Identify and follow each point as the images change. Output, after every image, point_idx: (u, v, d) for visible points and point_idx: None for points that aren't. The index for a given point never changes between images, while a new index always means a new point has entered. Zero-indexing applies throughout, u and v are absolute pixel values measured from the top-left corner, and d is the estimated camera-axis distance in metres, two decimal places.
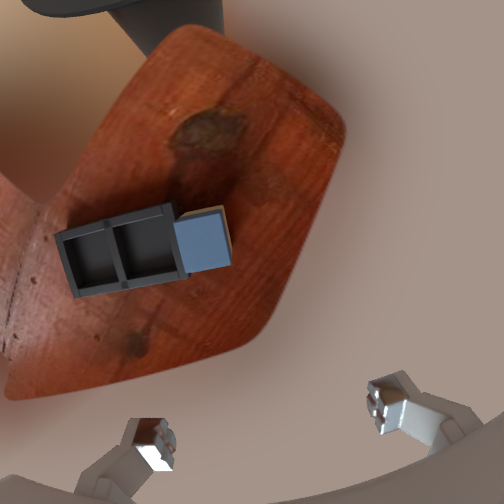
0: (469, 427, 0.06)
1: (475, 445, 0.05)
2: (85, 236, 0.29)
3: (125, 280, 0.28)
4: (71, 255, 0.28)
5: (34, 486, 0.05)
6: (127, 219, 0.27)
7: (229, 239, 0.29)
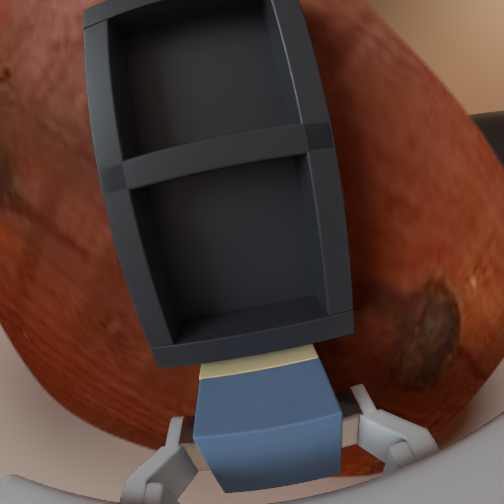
0: (423, 451, 0.06)
1: (475, 445, 0.05)
2: (260, 46, 0.09)
3: (127, 184, 0.08)
4: (212, 2, 0.08)
5: (34, 485, 0.05)
6: (328, 211, 0.09)
7: None
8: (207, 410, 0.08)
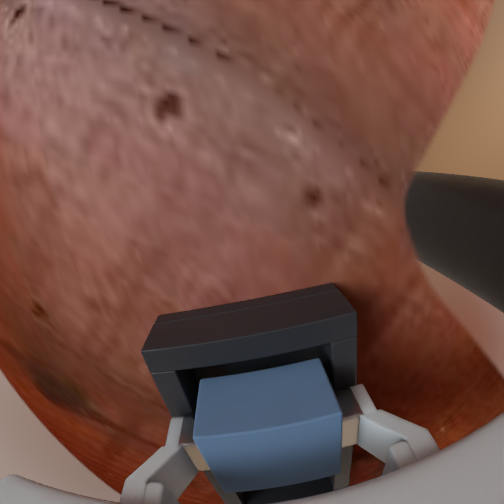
0: (423, 451, 0.06)
1: (475, 445, 0.05)
2: (312, 356, 0.12)
3: None
4: None
5: (34, 486, 0.05)
6: (341, 463, 0.12)
7: None
8: (207, 410, 0.08)
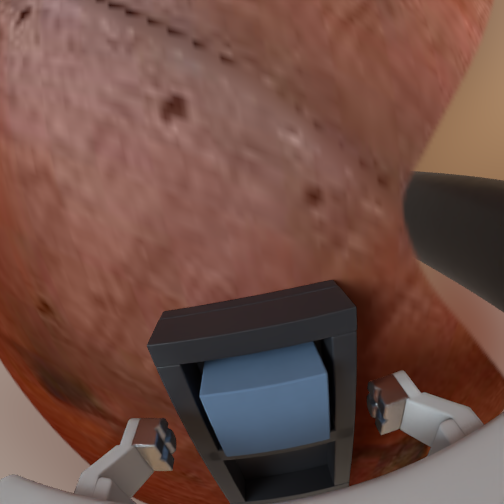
0: (469, 427, 0.06)
1: (475, 445, 0.05)
2: None
3: (222, 458, 0.12)
4: None
5: (34, 485, 0.05)
6: (342, 457, 0.12)
7: None
8: (212, 374, 0.10)
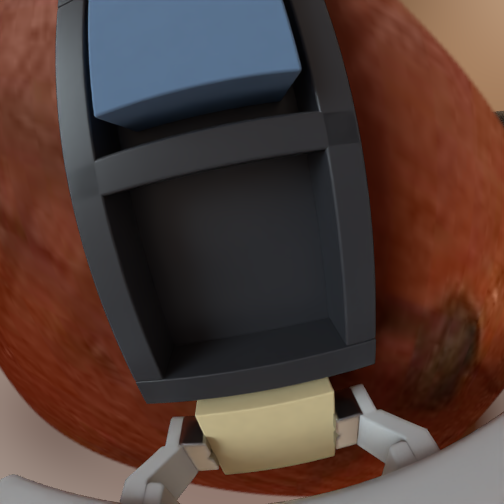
0: (423, 451, 0.06)
1: (475, 445, 0.05)
2: None
3: (100, 188, 0.07)
4: None
5: (34, 486, 0.05)
6: (352, 223, 0.07)
7: None
8: None
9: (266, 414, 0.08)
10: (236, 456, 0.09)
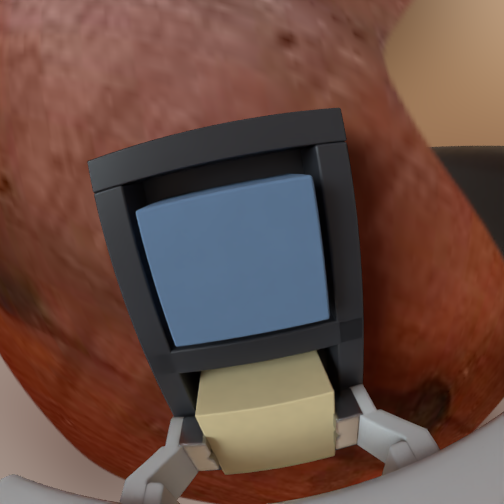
0: (423, 451, 0.06)
1: (475, 445, 0.05)
2: None
3: (177, 369, 0.09)
4: (246, 156, 0.09)
5: (34, 485, 0.05)
6: (349, 381, 0.10)
7: None
8: (161, 201, 0.08)
9: (266, 414, 0.08)
10: (236, 456, 0.09)
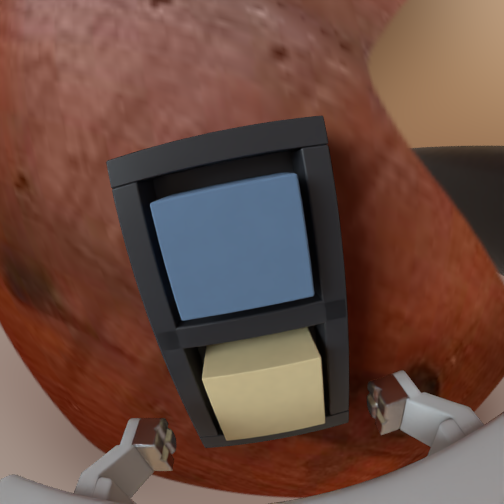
0: (469, 427, 0.06)
1: (475, 445, 0.05)
2: None
3: (182, 345, 0.11)
4: (243, 157, 0.10)
5: (34, 485, 0.05)
6: (336, 358, 0.11)
7: None
8: (170, 196, 0.10)
9: (262, 377, 0.10)
10: (237, 421, 0.11)
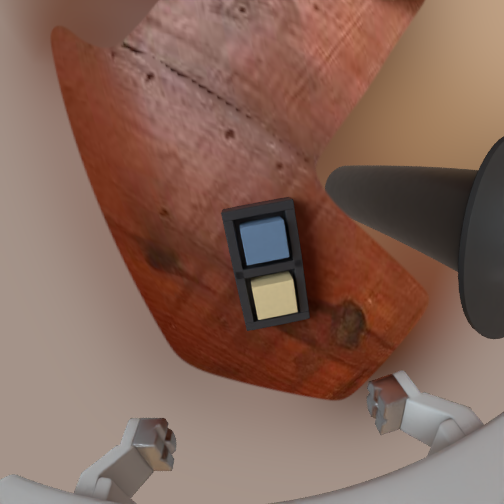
0: (469, 427, 0.06)
1: (475, 445, 0.05)
2: None
3: (244, 276, 0.32)
4: None
5: (34, 486, 0.05)
6: (300, 283, 0.33)
7: None
8: (243, 225, 0.31)
9: (273, 287, 0.32)
10: (263, 308, 0.32)
